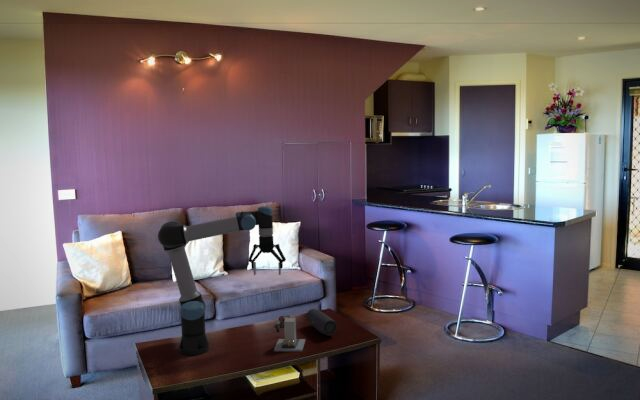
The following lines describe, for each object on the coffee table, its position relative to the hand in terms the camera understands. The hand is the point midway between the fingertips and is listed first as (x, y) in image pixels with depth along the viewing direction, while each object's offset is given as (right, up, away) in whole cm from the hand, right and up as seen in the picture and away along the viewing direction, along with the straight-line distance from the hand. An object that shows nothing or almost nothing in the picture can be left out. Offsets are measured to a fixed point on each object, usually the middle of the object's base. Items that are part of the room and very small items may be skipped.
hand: (267, 274), depth 283 cm
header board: (+13, -34, -16) cm, 40 cm away
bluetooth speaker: (+29, -32, +5) cm, 43 cm away
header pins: (+13, -34, -21) cm, 41 cm away
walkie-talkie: (+8, -32, +16) cm, 36 cm away
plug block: (+13, -33, -14) cm, 38 cm away
